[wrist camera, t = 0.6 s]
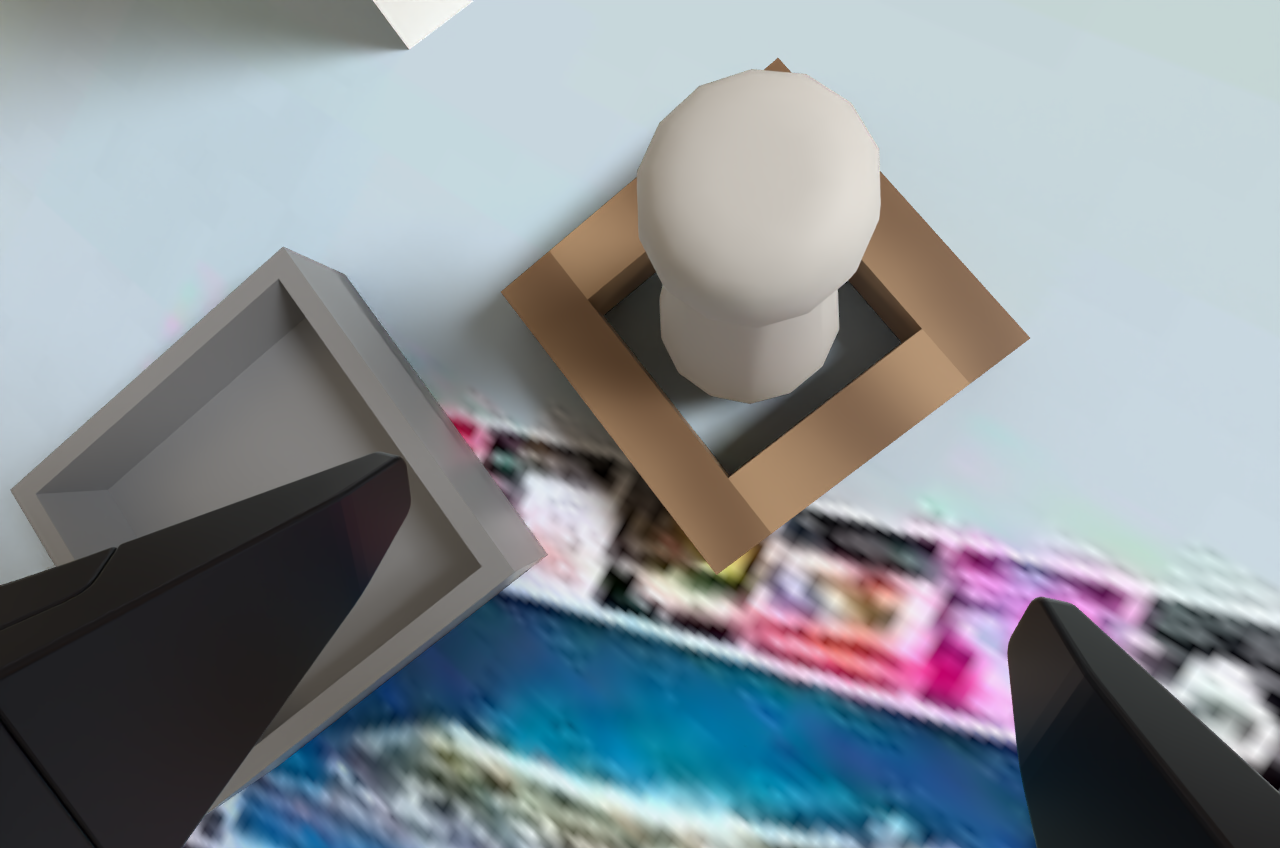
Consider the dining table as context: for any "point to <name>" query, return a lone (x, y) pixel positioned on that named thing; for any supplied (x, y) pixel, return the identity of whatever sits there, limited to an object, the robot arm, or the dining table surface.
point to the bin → (291, 474)
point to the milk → (418, 16)
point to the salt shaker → (756, 228)
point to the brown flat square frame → (821, 442)
